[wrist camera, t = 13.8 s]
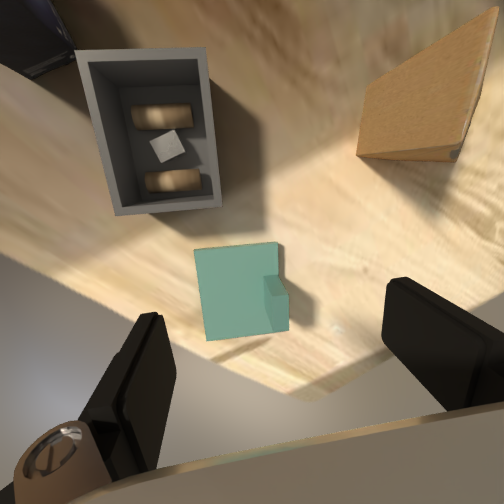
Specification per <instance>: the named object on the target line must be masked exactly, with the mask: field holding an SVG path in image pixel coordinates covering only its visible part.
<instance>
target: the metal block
mask: <svg viewBox="0 0 504 504" xmlns="http://www.w3.org/2000/svg"><path fill="white" fill-rule="evenodd" d="M149 142H150V143H151V145H152V147H153V149H154V151H155V153H156V154H157V156H158V158H159V160H160V162H161V163H164V164H165V163H167V162H170V161H172V160H174V159H176V158H178V157H180V156H182V155H184V154H186V153H187V151H186V149H185V147H184V145H183V143H182V141H181V139H180V137H179V135H178V133H177V132H176V131H175V130H172V131H170V132H168V133H166V134H164V135H162V136H160V137H158V138H155V139H153V140H151V141H149Z"/></svg>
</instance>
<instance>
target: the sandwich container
mask: <svg viewBox="0 0 504 504" xmlns="http://www.w3.org/2000/svg"><path fill="white" fill-rule="evenodd" d="M498 15H499V7H491V8H489V9H488V10H486V11H485V12H483V13H481V14H480V15H478V16H477V17H475V18H473V19H472V20H470V21H469V22H467V23H466V24H464V25H462V26H461V27H459V28H458V29H456V30H454V31H453V32H451V33H450V34H448V35H447V36H445V37H443V38H442V39H440V40H439V41H437V42H435V43H434V44H432V45H431V46H429V47H427V48H426V49H424V50H423V51H421V52H419V53H418V54H416V55H415V56H413V57H412V58H410V59H408V60H407V61H405V62H404V63H402V64H400V65H399V66H397V67H396V68H394V69H392V70H391V71H389V72H388V73H386V74H385V75H383V76H382V77H380V78H379V79H377V80H375V81H374V82H372V83H371V84H369V85H368V86H367V89H366V95H365V101H364V107H363V113H362V120H361V126H360V132H359V139H358V145H357V152H356V156H358V157H368V158H379V159H389V160H405V161H435V162H456V161H457V158H458V156H459V153H460V150H461V148H462V145H463V142H464V140H465V137H466V134H467V132H468V129H469V126H470V124H471V119H472V117H473V114H474V112H475V109H476V107H477V104H478V101H479V99H480V96H481V91H482V86H483V81H484V76H485V72H486V68H487V63H488V59H489V54H490V50H491V46H492V41H493V37H494V33H495V28H496V24H497V20H498Z"/></svg>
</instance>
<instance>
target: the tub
mask: <svg viewBox="0 0 504 504" xmlns="http://www.w3.org/2000/svg"><path fill="white" fill-rule="evenodd" d="M74 51H75V55H76V59H77V63H78V67H79V71H80V75H81V79H82V83H83V87H84V91H85V96H86V100H87V104H88V108H89V112H90V116H91V120H92V124H93V128H94V132H95V136H96V140H97V144H98V148H99V152H100V156H101V160H102V164H103V168H104V172H105V176H106V180H107V184H108V188H109V192H110V196H111V200H112V204H113V208H114V212H115V216H123V215H135V214H146V213H158V212H169V211H181V210H193V209H204V208H216V207H223V205H222V194H221V184H220V175H219V165H218V156H217V147H216V137H215V128H214V119H213V109H212V100H211V91H210V81H209V73H208V64H207V56H206V47H191V48H149V49H107V50H74ZM169 103H191V108H192V114H193V121H194V128H176V129H157V130H137V129H136V127H135V125H134V122H133V119H132V114H131V106H132V105H146V104H169ZM172 130H175V131H176V132H177V133H178V135H179V137H180V139H181V141H182V143H183V145H184V147H185V149H186V151H187V153H186V154H184V155H182V156H180V157H178V158H176V159H174V160H172V161H170V162H167V163H165V164H164V163H161V162H160V160H159V158H158V156H157V154H156V153H155V151H154V149H153V147H152V145H151V143H150V142H149V141H151V140H153V139H155V138H158V137H160V136H162V135H164V134H166V133H168V132H170V131H172ZM185 169H199V170H200V175H201V182H202V190H190V191H177V192H164V193H152V194H150V193H149V192H148V190H147V188H146V184H145V173H146V172H157V171H171V170H185Z"/></svg>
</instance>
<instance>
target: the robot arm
mask: <svg viewBox="0 0 504 504" xmlns="http://www.w3.org/2000/svg"><path fill="white" fill-rule="evenodd" d="M381 337H382V340H383V342H384V344H385V345H386V346H387V347H388V348H389V349H390V350H391V351H392V352H393V354H394V355H395V356H396V357H397V358H398V359H399V360H400V361H401V362H402V363H403V364H404V365H405V366H406V368H407V369H408V370H409V371H410V372H411V373H412V374H413V375H414V376H415V377H416V378H417V379H418V380H419V382H421V384H422V385H423V386H424V387H425V388H426V389H427V390H428V391H429V392H430V393H431V394H432V395H433V396H434V398H435V399H436V400H437V401H438V402H439V403H440V404H441V405H442V406H443V407H444V408H445V409H446V410H447V412H443V413H438V414H431V415H426V416H421V417H416V418H410V419H404V420H399V421H394V422H389V423H384V424H378V425H373V426H367V427H362V428H357V429H352V430H347V431H341V432H336V433H331V434H326V435H321V436H315V437H310V438H305V439H300V440H295V441H290V442H285V443H279V444H274V445H269V446H264V447H259V448H255V449H249V450H244V451H239V452H234V453H229V454H224V455H219V456H214V457H210V458H205V459H200V460H196V461H191V462H187V463H182V464H177V465H173V466H168V467H163V468H159V469H156V467H157V463H158V458H159V454H160V449H161V445H162V440H163V436H164V431H165V426H166V421H167V417H168V412H169V408H170V403H171V398H172V394H173V390H174V385H175V380H176V366H175V362H174V358H173V353H172V349H171V346H170V341H169V337H168V333H167V329H166V325H165V321H164V318H163V315H158V313H157V312H151V313H144V314H140V316H139V318H138V319H137V321H136V323H135V325H134V326H133V328H132V330H131V332H130V334H129V335H128V337H127V339H126V341H125V342H124V344H123V346H122V348H121V350H120V352H118V353H117V354H116V355H115V356H114V357H113V360H112V361H111V363H110V364H109V366H108V368H107V370H106V371H105V373H104V375H103V377H102V378H101V380H100V382H99V384H98V385H97V387H96V389H95V391H94V392H93V394H92V396H91V398H90V399H89V401H88V403H87V405H86V406H85V408H84V410H83V411H82V413H81V415H80V417H79V418H78V420H77V421H68V422H66V423H63V424H60V425H58V426H56V427H54V428H53V429H50V430H49V431H48V432H46V433H45V434H43V435H42V436H41V437H39V438H38V439H37V440H36V441H35V442H34V443H33V444H32V445H31V446H30V447H29V448H28V449H27V450H26V451H25V453H24V454H23V455H22V457H21V458H20V459H19V462H18V464H17V466H16V468H15V470H14V477H13V482H11V483H10V484H9V485H7V486H6V487H5V488H3V489H2V490H1V491H0V504H504V333H503V332H501V331H499V330H498V329H496V328H494V327H493V326H491V325H489V324H487V323H486V322H484V321H482V320H481V319H479V318H477V317H475V316H474V315H472V314H470V313H469V312H467V311H465V310H463V309H462V308H460V307H458V306H457V305H455V304H453V303H451V302H450V301H448V300H446V299H445V298H443V297H441V296H439V295H438V294H436V293H434V292H433V291H431V290H429V289H427V288H426V287H424V286H422V285H421V284H419V283H417V282H415V281H414V280H412V279H410V278H408V277H400V278H393V279H391V280H390V282H389V283H388V284H387V287H386V296H385V305H384V315H383V324H382V333H381Z"/></svg>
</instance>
